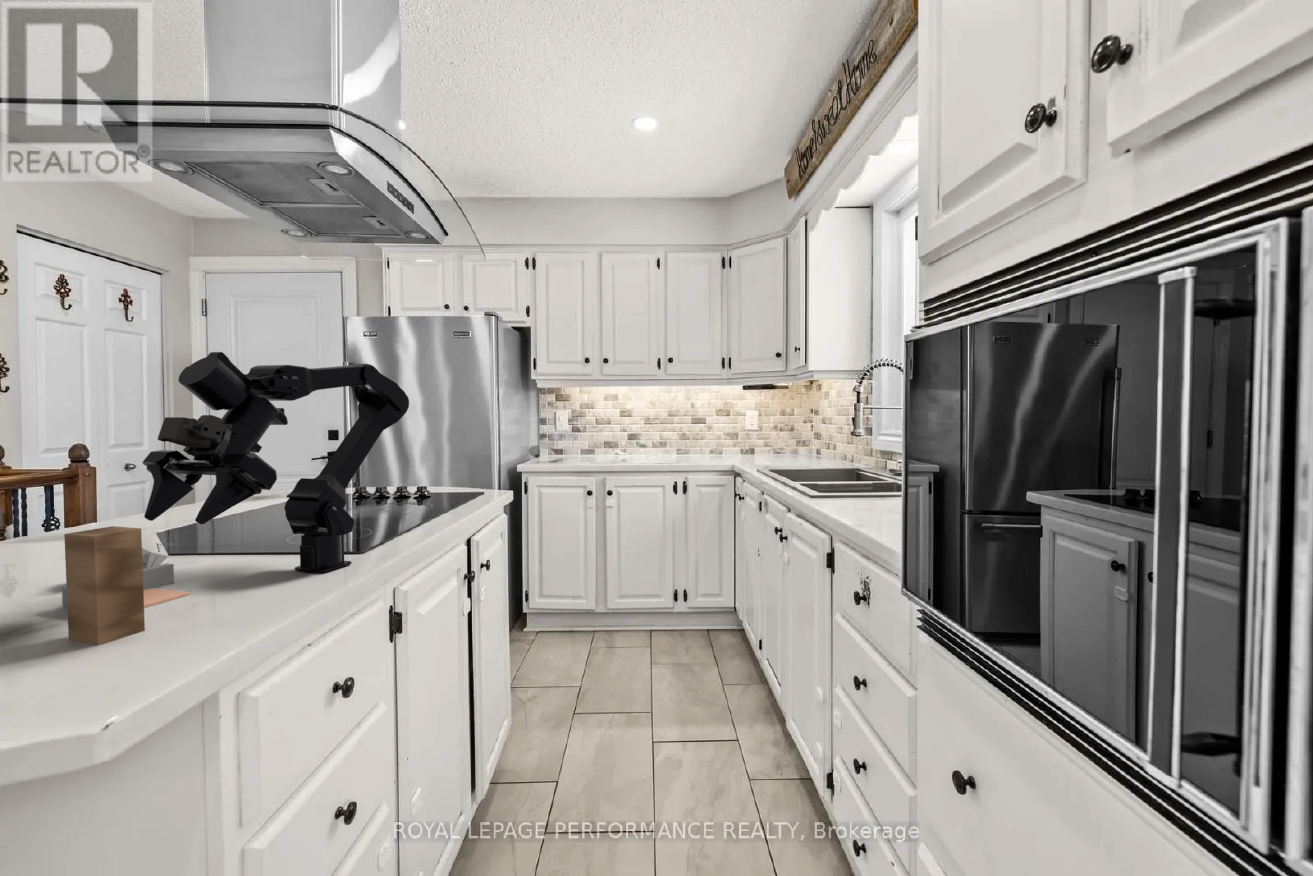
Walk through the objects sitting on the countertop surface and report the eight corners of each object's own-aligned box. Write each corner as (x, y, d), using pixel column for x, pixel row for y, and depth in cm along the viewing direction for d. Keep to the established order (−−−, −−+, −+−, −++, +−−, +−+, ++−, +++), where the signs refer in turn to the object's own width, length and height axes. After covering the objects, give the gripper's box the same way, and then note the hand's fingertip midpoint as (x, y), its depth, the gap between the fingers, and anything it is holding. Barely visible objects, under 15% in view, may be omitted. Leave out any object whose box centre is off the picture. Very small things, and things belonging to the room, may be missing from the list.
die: (114, 592, 92) (161, 538, 96) (66, 565, 92) (115, 512, 96) (147, 596, 100) (189, 546, 103) (102, 571, 100) (146, 521, 103)
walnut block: (116, 626, 76) (112, 526, 76) (144, 630, 75) (141, 528, 74) (68, 641, 71) (64, 534, 71) (98, 645, 70) (94, 536, 69)
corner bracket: (167, 581, 96) (166, 563, 96) (219, 587, 93) (218, 568, 93) (62, 608, 83) (61, 587, 83) (119, 616, 80) (118, 594, 80)
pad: (150, 590, 91) (150, 588, 91) (189, 594, 89) (189, 592, 89) (89, 606, 84) (88, 604, 84) (130, 611, 82) (130, 609, 82)
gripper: (148, 395, 86) (67, 486, 76) (249, 394, 81) (175, 491, 72) (208, 441, 94) (142, 528, 85) (303, 443, 89) (243, 536, 80)
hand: (172, 521), depth 80 cm, fingers open, 9 cm apart
